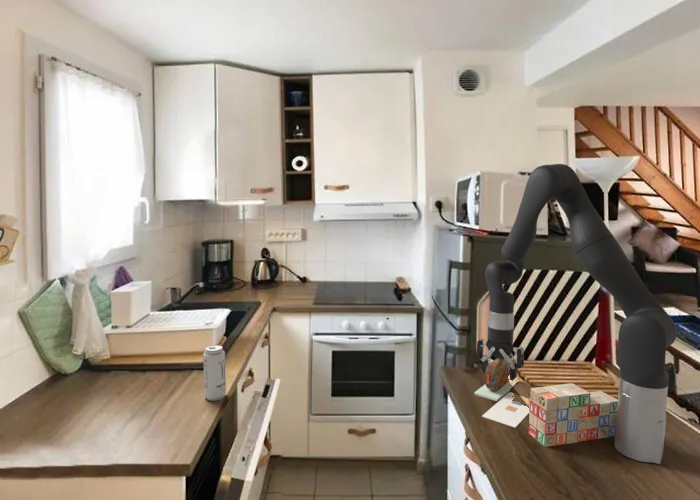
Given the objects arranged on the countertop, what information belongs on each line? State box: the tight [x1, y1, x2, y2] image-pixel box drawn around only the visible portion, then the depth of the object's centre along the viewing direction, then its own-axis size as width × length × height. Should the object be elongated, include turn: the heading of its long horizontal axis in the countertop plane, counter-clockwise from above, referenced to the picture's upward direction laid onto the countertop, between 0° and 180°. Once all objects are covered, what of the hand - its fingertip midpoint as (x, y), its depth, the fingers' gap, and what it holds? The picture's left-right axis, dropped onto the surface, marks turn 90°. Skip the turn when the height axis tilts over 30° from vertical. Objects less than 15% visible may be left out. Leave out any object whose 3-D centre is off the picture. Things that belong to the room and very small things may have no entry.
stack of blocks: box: [527, 382, 618, 448], centre depth 108 cm, size 21×6×12 cm, turn 104°
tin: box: [484, 357, 511, 391], centre depth 135 cm, size 15×3×8 cm, turn 139°
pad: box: [474, 381, 513, 402], centre depth 136 cm, size 7×19×1 cm, turn 139°
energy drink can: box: [203, 344, 227, 402], centre depth 128 cm, size 6×6×15 cm
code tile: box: [481, 391, 530, 428], centre depth 122 cm, size 9×20×1 cm, turn 140°
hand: (498, 376), depth 135 cm, fingers open, 8 cm apart
